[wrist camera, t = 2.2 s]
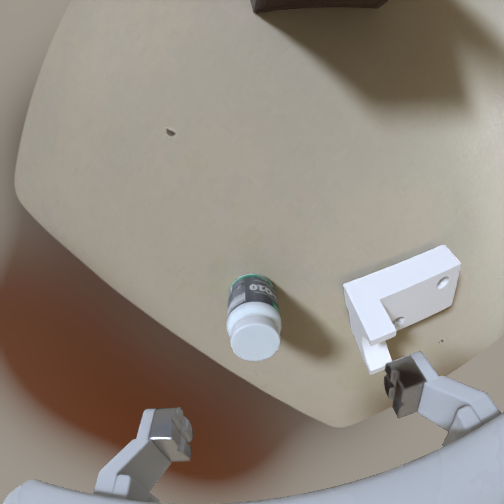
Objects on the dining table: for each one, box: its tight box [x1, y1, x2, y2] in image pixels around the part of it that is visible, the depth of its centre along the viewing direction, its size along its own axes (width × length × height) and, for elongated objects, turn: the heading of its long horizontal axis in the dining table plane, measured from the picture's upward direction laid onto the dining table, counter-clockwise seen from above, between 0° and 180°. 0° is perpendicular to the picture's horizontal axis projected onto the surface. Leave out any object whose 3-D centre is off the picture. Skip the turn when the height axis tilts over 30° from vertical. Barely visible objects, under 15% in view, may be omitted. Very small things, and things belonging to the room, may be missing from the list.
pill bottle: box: [227, 274, 282, 361], centre depth 27 cm, size 5×5×8 cm
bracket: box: [343, 244, 461, 375], centre depth 29 cm, size 13×7×8 cm, turn 109°
